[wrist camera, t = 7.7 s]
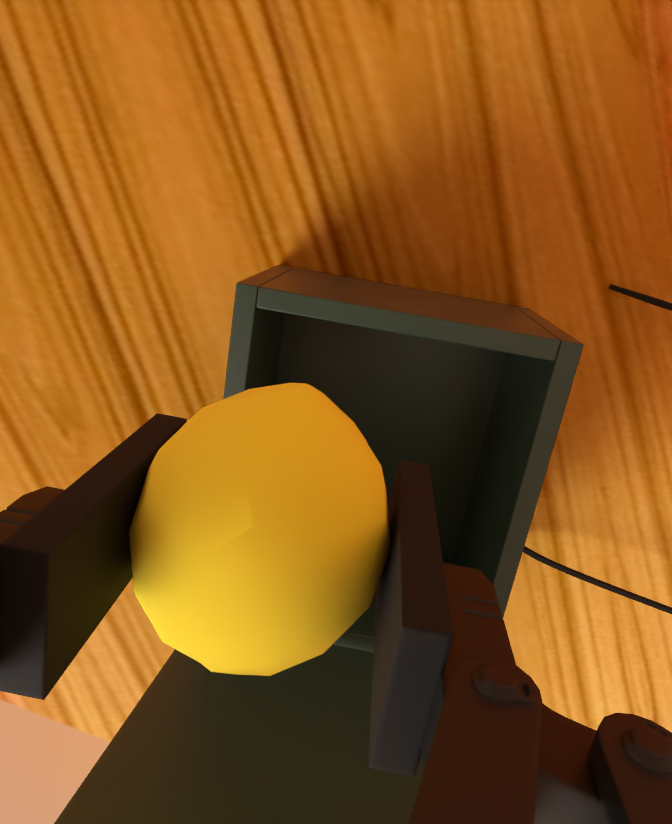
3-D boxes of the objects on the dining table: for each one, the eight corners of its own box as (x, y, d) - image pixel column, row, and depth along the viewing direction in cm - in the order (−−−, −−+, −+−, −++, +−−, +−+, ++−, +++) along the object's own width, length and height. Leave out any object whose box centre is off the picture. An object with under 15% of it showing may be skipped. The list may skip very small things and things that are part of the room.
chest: (278, 264, 31) (236, 282, 22) (530, 309, 30) (584, 344, 22) (243, 523, 35) (198, 619, 27) (463, 565, 35) (486, 676, 26)
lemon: (214, 320, 15) (117, 375, 10) (430, 389, 15) (449, 482, 10) (155, 563, 17) (51, 714, 12) (344, 623, 17) (321, 799, 12)
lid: (-32, 944, 11) (-39, 987, 11) (675, 1096, 11) (666, 1139, 11) (196, 617, 26) (193, 635, 26) (489, 674, 26) (485, 692, 26)
